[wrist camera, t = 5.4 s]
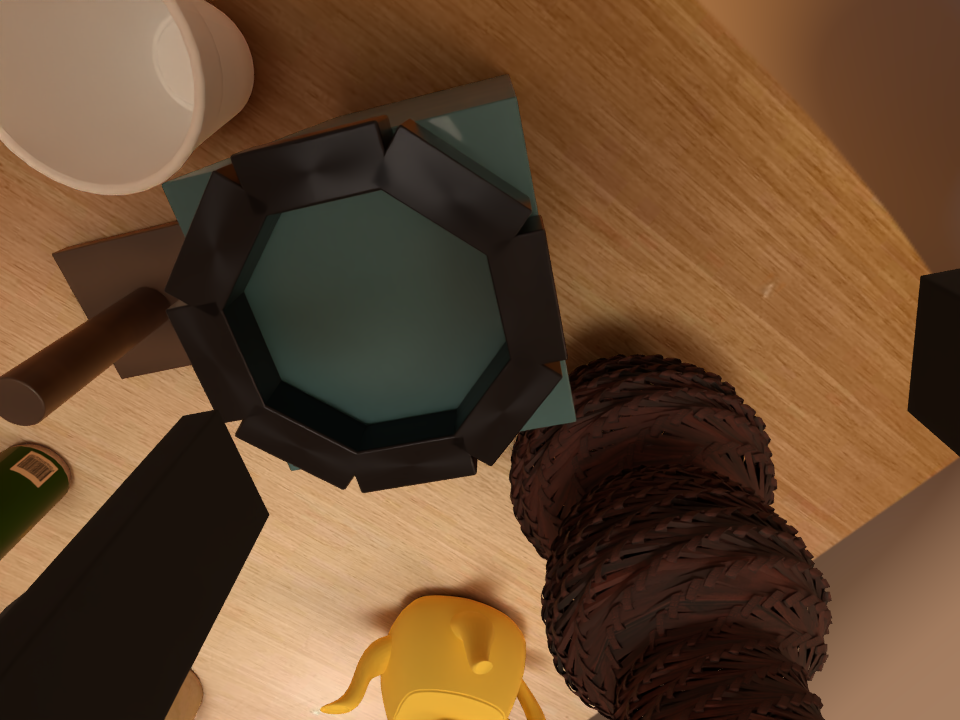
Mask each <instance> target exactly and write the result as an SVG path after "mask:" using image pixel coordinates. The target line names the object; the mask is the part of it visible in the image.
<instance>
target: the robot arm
mask: <svg viewBox="0 0 960 720" xmlns="http://www.w3.org/2000/svg"><path fill="white" fill-rule="evenodd" d="M908 412H909V413H910V414H912V415H913V416H914V417H915V418H916V419H917V420H918V421H920V422H921V423H922V424H923V425H924V426H925V427H926V428H928V429H929V430H930V431H931V432H932V433H933V434H934V435H936V436H937V437H938V438H939V439H940V440H941V441H942V442H944V443H945V444H946V445H947V446H948V447H949V448H950V449H952V450H953V451H954V452H955V453H956V454H957V455H958V456H960V269H955V270H950V271H944V272H940V273H934V274H929V275H923V276H921V277H920V288H919V298H918V308H917V318H916V329H915V339H914V349H913V359H912V370H911V380H910V390H909V400H908ZM268 516H269V513H268V511H267V509H266V507H265V505H264V503H263V501H262V499H261V497H260V495H259V493H258V490H257V488H256V486H255V484H254V482H253V480H252V478H251V476H250V474H249V472H248V470H247V468H246V466H245V464H244V462H243V460H242V458H241V456H240V454H239V452H238V450H237V448H236V446H235V443H234V441H233V439H232V437H231V435H230V433H229V431H228V429H227V427H226V425H225V423H224V421H223V419H222V417H221V415H220V413H219V411H218V409H217V410H211V411H206V412H201V413H196V414H190V415H185V416H182V417H181V419H180V420H179V421H178V422H177V423H176V424H175V425H174V426H173V428H172V429H171V430H170V431H169V432H168V433H167V434H166V435H165V436H164V438H163V439H162V440H161V441H160V442H159V443H158V444H157V445H156V447H155V448H154V449H153V450H152V451H151V452H150V453H149V454H148V455H147V457H146V458H145V459H144V460H143V461H142V462H141V463H140V464H139V466H138V467H137V468H136V469H135V470H134V471H133V472H132V473H131V475H130V476H129V477H128V478H127V479H126V480H125V481H124V482H123V483H122V485H121V486H120V487H119V488H118V489H117V490H116V491H115V492H114V494H113V495H112V496H111V497H110V498H109V499H108V500H107V501H106V502H105V504H104V505H103V506H102V507H101V508H100V509H99V510H98V511H97V513H96V514H95V515H94V516H93V517H92V518H91V519H90V520H89V521H88V523H87V524H86V525H85V526H84V527H83V528H82V529H81V530H80V532H79V533H78V534H77V535H76V536H75V537H74V538H73V539H72V540H71V542H70V543H69V544H68V545H67V546H66V547H65V548H64V549H63V551H62V552H61V553H60V554H59V555H58V556H57V557H56V558H55V559H54V561H53V562H52V563H51V564H50V565H49V566H48V567H47V568H46V570H45V571H44V572H43V573H42V574H41V575H40V576H39V577H38V578H37V580H36V581H35V582H34V583H33V584H32V585H31V586H30V587H29V589H28V590H27V591H26V592H25V593H23V594H22V595H21V596H20V597H18V598H17V599H16V600H15V601H13V602H12V603H11V604H10V605H8V606H7V607H6V608H5V609H4V610H3V611H2V612H1V614H0V720H165V718H166V716H167V714H168V712H169V710H170V708H171V706H172V704H173V702H174V700H175V698H176V696H177V694H178V692H179V690H180V688H181V686H182V684H183V682H184V681H185V679H186V677H187V675H188V673H189V671H190V669H191V667H192V665H193V663H194V661H195V659H196V657H197V655H198V653H199V651H200V649H201V647H202V645H203V643H204V641H205V640H206V638H207V636H208V634H209V632H210V630H211V628H212V626H213V624H214V622H215V620H216V618H217V616H218V614H219V612H220V610H221V608H222V606H223V604H224V602H225V600H226V599H227V597H228V595H229V593H230V591H231V589H232V587H233V585H234V583H235V581H236V579H237V577H238V575H239V573H240V571H241V569H242V567H243V565H244V563H245V561H246V559H247V558H248V556H249V554H250V552H251V550H252V548H253V546H254V544H255V542H256V540H257V538H258V536H259V534H260V532H261V530H262V528H263V526H264V524H265V522H266V520H267V518H268Z"/></svg>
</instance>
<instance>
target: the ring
mask: <svg viewBox="0 0 960 720" xmlns="http://www.w3.org/2000/svg"><path fill="white" fill-rule="evenodd" d="M230 158H231V162H232V163H230V164H228V165H225V166H223V167H220V168H218V169H215V170H213V171H212V173H211V176H210V178H209V181H208V183H207V186H206V188H205V190H204V193H203V195H202V198H201V200H200V203H199V205H198V208H197V210H196V212H195V215H194V217H193V220H192V222H191V225H190V227H189V230H188V232H187V234H186V237H185V239H184V242H183V244H182V247H181V249H180V252H179V254H178V257H177V259H176V261H175V264H174V266H173V269H172V271H171V274H170V276H169V279H168V281H167V283H166V286H165V288H164V292H165V293H167V294H169V295H171V296H173V297H175V298H176V299H178V301H177V302H176V303H174V304H173V305H172V306H170V307H169V308H168V309H166V314H167V316H168V318H169V320H170V322H171V324H172V326H173V328H174V330H175V332H176V334H177V336H178V338H179V340H180V342H181V344H182V346H183V348H184V350H185V352H186V354H187V356H188V358H189V361H190V363H191V365H192V367H193V369H194V371H195V373H196V375H197V377H198V379H199V381H200V383H201V385H202V387H203V389H204V391H205V393H206V395H207V397H208V399H209V401H210V403H211V405H212V407H213V409H214V410H217V409H218V411H219V413H220V415H221V417H222V419H223V421H224V423H227V422H232V421H238V420H242V422H241V424H240V426H239V428H238V429H237V431H236V433H235V436H236V437H237V438H239V439H241V440H243V441H245V442H247V443H249V444H251V445H253V446H255V447H257V448H259V449H261V450H263V451H265V452H267V453H269V454H271V455H273V456H275V457H277V458H279V459H281V460H283V461H285V462H287V463H289V464H292V465H294V466H296V467H298V468H300V469H302V470H304V471H306V472H308V473H310V474H312V475H314V476H316V477H318V478H320V479H322V480H324V481H326V482H328V483H330V484H332V485H334V486H336V487H338V488H340V489H342V490H344V489H346V488H347V486H348V485H349V483H350V482H351V480H352V479H353V477H354V476H355V477H356V479H357V482H358V484H359V487H360V489H361V492H362V493H367V492H373V491H379V490H385V489H392V488H398V487H404V486H410V485H416V484H422V483H428V482H435V481H441V480H447V479H453V478H459V477H465V476H471V475H475V474H476V473H477V459H478V460H480V461H482V462H484V463H486V464H487V465H489V466H492V465H493V464H494V463H495V462H496V460H497V459H498V458H499V457H500V455H501V454H502V453H503V452H504V450H505V449H506V448H507V447H508V445H509V444H510V443H511V442H512V440H513V439H514V438H515V437H516V435H517V434H518V433H519V432H520V430H521V429H522V428H523V427H524V425H525V424H526V423H527V422H528V420H529V419H530V418H531V417H532V415H533V414H534V413H535V412H536V410H537V409H538V408H539V407H540V405H541V404H542V403H543V402H544V400H545V399H546V398H547V397H548V395H549V394H550V393H551V392H552V390H553V389H554V388H555V387H556V385H557V384H558V383H559V382H560V380H561V379H562V377H563V375H562V370H561V364H560V361H563V360H567V359H568V355H567V349H566V344H565V338H564V333H563V327H562V322H561V316H560V310H559V305H558V299H557V294H556V288H555V283H554V277H553V272H552V266H551V261H550V255H549V249H548V244H547V238H546V233H545V228H544V224H543V220H542V217H541V215H537V216H533V217H529V216H530V214H531V213H532V208H531V203H530V198H529V197H528V196H527V195H525V194H524V193H522V192H521V191H519V190H518V189H516V188H515V187H513V186H512V185H510V184H508V183H507V182H505V181H504V180H502V179H501V178H499V177H498V176H496V175H495V174H493V173H492V172H490V171H489V170H487V169H486V168H484V167H483V166H481V165H480V164H478V163H477V162H475V161H474V160H472V159H471V158H469V157H468V156H466V155H465V154H463V153H462V152H460V151H458V150H457V149H455V148H454V147H452V146H451V145H449V144H448V143H446V142H445V141H443V140H442V139H440V138H439V137H437V136H436V135H434V134H433V133H431V132H430V131H428V130H427V129H425V128H424V127H422V126H421V125H419V124H418V123H416V122H415V121H413V120H412V119H407V120H406V121H404V122H403V123H402V124H400V125H399V126H398V128H397V130H396V132H395V134H394V136H393V133H392V129H391V125H390V122H389V118H388V116H387V115H381V116H377V117H373V118H369V119H365V120H361V121H356V122H352V123H348V124H344V125H340V126H336V127H332V128H328V129H324V130H320V131H316V132H312V133H308V134H304V135H300V136H296V137H292V138H288V139H283V140H279V141H275V142H271V143H267V144H263V145H259V146H255V147H252V148H249V149H247V150H244V151H241V152H239V153H236V154H233V155H232V156H231V157H230ZM380 190H382V191H384V192H385V193H387V194H389V195H390V196H392V197H393V198H395V199H397V200H398V201H400V202H401V203H403V204H405V205H406V206H408V207H410V208H411V209H413V210H414V211H416V212H418V213H419V214H421V215H422V216H424V217H426V218H427V219H429V220H430V221H432V222H434V223H435V224H437V225H438V226H440V227H442V228H443V229H445V230H446V231H448V232H450V233H451V234H453V235H454V236H456V237H458V238H459V239H461V240H462V241H464V242H466V243H467V244H469V245H471V246H472V247H474V248H475V249H477V250H479V251H480V252H482V253H483V254H485V255H486V257H487V261H488V265H489V270H490V274H491V278H492V283H493V287H494V292H495V296H496V300H497V305H498V309H499V313H500V318H501V322H502V327H503V331H504V335H505V340H506V342H505V343H504V345H503V346H502V347H501V349H500V350H499V352H498V353H497V354H496V356H495V357H494V358H493V360H492V361H491V363H490V364H489V365H488V367H487V368H486V370H485V371H484V372H483V374H482V375H481V376H480V378H479V379H478V381H477V382H476V383H475V385H474V386H473V387H472V389H471V390H470V392H469V393H468V394H467V396H466V397H465V399H464V400H463V401H462V403H461V404H460V405H459V407H458V408H457V409H454V410H449V411H443V412H438V413H432V414H426V415H421V416H415V417H410V418H404V419H398V420H393V421H387V422H381V423H376V424H370V425H366V424H364V423H362V422H360V421H358V420H356V419H354V418H352V417H350V416H348V415H347V414H345V413H343V412H341V411H339V410H337V409H335V408H333V407H331V406H329V405H327V404H326V403H324V402H322V401H320V400H318V399H316V398H314V397H312V396H310V395H308V394H306V393H305V392H303V391H301V390H299V389H297V388H295V387H293V386H291V385H289V384H287V383H286V382H284V381H282V380H281V378H280V375H279V373H278V371H277V368H276V366H275V364H274V361H273V359H272V356H271V354H270V352H269V349H268V347H267V345H266V342H265V340H264V338H263V335H262V333H261V331H260V328H259V326H258V324H257V321H256V319H255V316H254V314H253V312H252V309H251V307H250V305H249V302H248V300H247V298H246V295H245V293H244V290H245V288H246V286H247V284H248V282H249V280H250V278H251V276H252V274H253V271H254V269H255V267H256V265H257V263H258V261H259V259H260V257H261V255H262V252H263V250H264V248H265V246H266V244H267V242H268V240H269V238H270V236H271V234H272V231H273V229H274V227H275V225H276V223H277V221H278V219H279V217H280V215H281V213H284V212H288V211H293V210H297V209H301V208H306V207H310V206H314V205H319V204H323V203H327V202H332V201H336V200H341V199H345V198H349V197H354V196H358V195H362V194H367V193H371V192H375V191H380Z"/></svg>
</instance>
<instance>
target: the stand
mask: <svg viewBox="0 0 960 720" xmlns="http://www.w3.org/2000/svg"><path fill="white" fill-rule="evenodd" d="M381 115H387V116H388V118H389V122H390V125H391V129H392V133H393V136H394V134H395V132H396V130H397V128H398V126H399V125H400V124H402V123H403V122H404V121H406V120H407V119H412V120H413V121H415V122H416V123H418V124H419V125H421V126H422V127H424V128H425V129H427V130H428V131H430V132H431V133H433V134H434V135H436V136H437V137H439V138H440V139H442V140H443V141H445V142H446V143H448V144H449V145H451V146H452V147H454V148H455V149H457V150H458V151H460V152H462V153H463V154H465V155H466V156H468V157H469V158H471V159H472V160H474V161H475V162H477V163H478V164H480V165H481V166H483V167H484V168H486V169H487V170H489V171H490V172H492V173H493V174H495V175H496V176H498V177H499V178H501V179H502V180H504V181H505V182H507V183H508V184H510V185H512V186H513V187H515V188H516V189H518V190H519V191H521V192H522V193H524V194H525V195H527V196H528V197H529V198H530V203H531V208H532V213H531V214H530V216H529V217H533V216H537V215H538V210H537V204H536V199H535V194H534V188H533V183H532V177H531V172H530V167H529V161H528V156H527V150H526V145H525V140H524V134H523V129H522V124H521V118H520V113H519V107H518V102H517V98H516V95H515V92H514V89H513V86H512V83H511V80H510V77H509V74H506V75H502V76H498V77H494V78H490V79H486V80H482V81H478V82H474V83H470V84H466V85H462V86H458V87H454V88H451V89H447V90H443V91H439V92H435V93H431V94H427V95H423V96H419V97H415V98H411V99H407V100H403V101H399V102H395V103H391V104H387V105H383V106H379V107H375V108H371V109H367V110H363V111H359V112H355V113H351V114H347V115H343V116H339V117H336V118H334V119H331V120H328V121H326V122H323V123H320V124H318V125H315V126H312V127H310V128H307V129H304V130H302V131H299V132H297V133H294V134H291V135H289V136H286V137H283V138H281V139H278V140H275V141H279V140H283V139H288V138H292V137H296V136H300V135H304V134H308V133H312V132H316V131H320V130H324V129H328V128H332V127H336V126H340V125H344V124H348V123H352V122H356V121H361V120H365V119H369V118H373V117H377V116H381ZM275 141H273V142H275ZM270 143H271V142H270ZM230 163H232V162H231V158H228V159H225V160H223V161H220V162H217V163H215V164H212V165H210V166H207V167H204V168H202V169H199V170H196V171H194V172H191V173H188V174H186V175H183V176H181V177H178V178H175V179H173V180H170V181H167V182H165V183H163V184H162V188H163V190H164V192H165V194H166V197H167V199H168V201H169V203H170V205H171V208H172V210H173V212H174V214H175V216H176V219H177V221H178V223H179V225H180V227H181V230H182V232H183V234H184V236H185V237H186V234H187V232H188V230H189V227H190V225H191V222H192V220H193V217H194V215H195V212H196V210H197V208H198V205H199V203H200V200H201V198H202V195H203V193H204V190H205V188H206V186H207V183H208V181H209V178H210V176H211V173H212V171H213V170H215V169H218V168H220V167H223V166H225V165H228V164H230ZM244 293H245V295H246V298H247V300H248V302H249V305H250V307H251V309H252V312H253V314H254V316H255V319H256V321H257V324H258V326H259V328H260V331H261V333H262V335H263V338H264V340H265V342H266V345H267V347H268V349H269V352H270V354H271V356H272V359H273V361H274V364H275V366H276V368H277V371H278V373H279V375H280V378H281V380H282V381H284V382H286V383H287V384H289V385H291V386H293V387H295V388H297V389H299V390H301V391H303V392H305V393H306V394H308V395H310V396H312V397H314V398H316V399H318V400H320V401H322V402H324V403H326V404H327V405H329V406H331V407H333V408H335V409H337V410H339V411H341V412H343V413H345V414H347V415H348V416H350V417H352V418H354V419H356V420H358V421H360V422H362V423H364V424H366V425H370V424H376V423H381V422H387V421H393V420H398V419H404V418H410V417H415V416H421V415H426V414H432V413H438V412H443V411H449V410H454V409H457V408H458V407H459V405H460V404H461V403H462V401H463V400H464V399H465V397H466V396H467V394H468V393H469V392H470V390H471V389H472V387H473V386H474V385H475V383H476V382H477V381H478V379H479V378H480V376H481V375H482V374H483V372H484V371H485V370H486V368H487V367H488V365H489V364H490V363H491V361H492V360H493V358H494V357H495V356H496V354H497V353H498V352H499V350H500V349H501V347H502V346H503V345H504V343H505V342H506V340H505V335H504V331H503V327H502V322H501V318H500V313H499V309H498V305H497V300H496V296H495V292H494V287H493V283H492V278H491V274H490V270H489V265H488V261H487V257H486V255H485V254H483V253H482V252H480V251H479V250H477V249H475V248H474V247H472V246H471V245H469V244H467V243H466V242H464V241H462V240H461V239H459V238H458V237H456V236H454V235H453V234H451V233H450V232H448V231H446V230H445V229H443V228H442V227H440V226H438V225H437V224H435V223H434V222H432V221H430V220H429V219H427V218H426V217H424V216H422V215H421V214H419V213H418V212H416V211H414V210H413V209H411V208H410V207H408V206H406V205H405V204H403V203H401V202H400V201H398V200H397V199H395V198H393V197H392V196H390V195H389V194H387V193H385V192H384V191H382V190H380V191H375V192H371V193H367V194H362V195H358V196H354V197H349V198H345V199H341V200H336V201H332V202H327V203H323V204H319V205H314V206H310V207H306V208H301V209H297V210H293V211H288V212H284V213H281V215H280V217H279V219H278V221H277V223H276V225H275V227H274V229H273V231H272V234H271V236H270V238H269V240H268V242H267V244H266V246H265V248H264V250H263V252H262V255H261V257H260V259H259V261H258V263H257V265H256V267H255V269H254V271H253V274H252V276H251V278H250V280H249V282H248V284H247V286H246V288H245V290H244ZM560 364H561V370H562V375H563V377H562V379H561V380H560V382H559V383H558V384H557V385H556V387H555V388H554V389H553V390H552V392H551V393H550V394H549V395H548V397H547V398H546V399H545V400H544V402H543V403H542V404H541V405H540V407H539V408H538V409H537V410H536V412H535V413H534V414H533V415H532V417H531V418H530V419H529V420H528V422H527V423H526V424H525V425H524V427H523V428H522V429H521V430H520V431H525V430H531V429H537V428H542V427H548V426H554V425H560V424H565V423H571V422H576V414H575V409H574V403H573V398H572V393H571V387H570V382H569V376H568V371H567V366H566V360H563V361H560ZM288 465H289V468H290V470H291V471H294V470H300V468H298V467H296V466H294V465H292V464H289V463H288Z"/></svg>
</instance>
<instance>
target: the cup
mask: <svg viewBox="0 0 960 720" xmlns="http://www.w3.org/2000/svg"><path fill="white" fill-rule="evenodd" d="M253 83H254V66H253V60H252V56H251V53H250V50H249V47H248V44H247V42H246V40H245V38H244V36H243V35H242V33H241V32H240V30H239V29H238V27H237V26H236V25H235V23H234V22H233V21H232V20H231V19H230V18H229V17H228V16H227V15H226V14H224V13H223V12H222V11H220V10H219V9H217V8H216V7H214V6H213V5H211V4H209V3H208V2H206V1H205V0H0V140H1V141H2V142H3V143H4V144H5V145H6V146H7V147H8V148H9V149H10V151H12V152H13V153H14V154H15V155H17V156H18V157H19V158H20V159H22V160H23V161H24V162H25V163H27V164H28V165H29V166H31V167H32V168H33V169H35V170H37V171H38V172H40V173H42V174H44V175H45V176H47V177H49V178H50V179H52V180H54V181H56V182H59V183H61V184H64V185H66V186H69V187H71V188H74V189H77V190H79V191H84V192H89V193H94V194H99V195H128V194H133V193H137V192H142V191H146V190H148V189H151V188H153V187H155V186H157V185H159V184H161V183H163V182H165V181H166V180H167V179H169V178H170V177H171V176H172V175H173V174H175V173H176V172H177V171H178V170H180V168H181V167H182V166H183V164H184V163H185V162H186V160H187V159H188V158H189V156H190V155H191V154H192V152H193V150H195V149H196V148H197V147H198V146H199V145H201V144H202V143H203V142H204V141H205V140H206V139H208V138H209V137H210V136H211V135H212V134H214V133H215V132H216V131H217V130H218V129H220V128H221V127H222V126H223V125H225V124H226V123H227V122H228V121H229V120H231V119H232V118H233V117H234V116H235V115H237V114H238V113H239V112H240V111H241V110H242V109H243V107H244V106H245V105H246V104H247V102H248V99H249V97H250V95H251V92H252V88H253Z"/></svg>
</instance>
